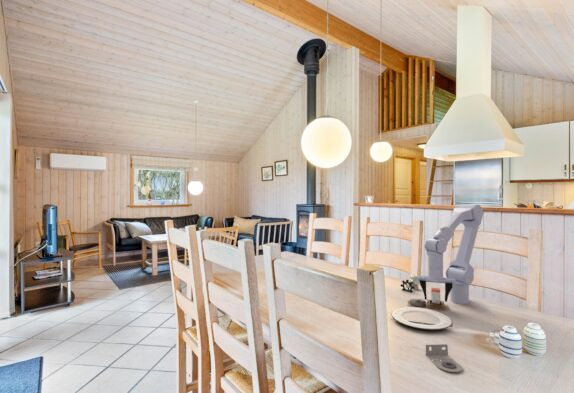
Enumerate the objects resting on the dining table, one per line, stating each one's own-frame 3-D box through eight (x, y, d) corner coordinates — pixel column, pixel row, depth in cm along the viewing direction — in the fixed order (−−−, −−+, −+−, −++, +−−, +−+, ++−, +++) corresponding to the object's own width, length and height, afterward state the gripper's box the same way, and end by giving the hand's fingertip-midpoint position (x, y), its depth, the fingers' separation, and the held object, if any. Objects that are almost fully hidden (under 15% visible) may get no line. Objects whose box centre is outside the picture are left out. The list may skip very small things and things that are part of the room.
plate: (456, 337, 104) (456, 332, 104) (391, 328, 112) (391, 323, 112) (447, 315, 124) (447, 310, 124) (392, 309, 131) (392, 304, 131)
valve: (409, 286, 162) (400, 292, 154) (409, 274, 162) (400, 278, 154) (422, 289, 158) (413, 294, 149) (422, 276, 158) (413, 281, 149)
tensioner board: (407, 302, 138) (407, 295, 138) (448, 307, 132) (448, 300, 132) (407, 308, 131) (407, 301, 131) (450, 313, 125) (450, 306, 125)
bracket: (443, 375, 83) (443, 362, 83) (425, 356, 93) (425, 344, 93) (467, 374, 83) (467, 361, 83) (447, 355, 93) (447, 344, 93)
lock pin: (431, 304, 132) (431, 287, 132) (439, 305, 131) (439, 288, 131) (431, 307, 129) (431, 289, 129) (440, 308, 128) (440, 290, 128)
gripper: (416, 268, 129) (416, 300, 129) (456, 271, 124) (456, 305, 124) (416, 264, 136) (416, 295, 136) (454, 267, 130) (454, 299, 130)
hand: (435, 299), depth 130 cm, fingers open, 7 cm apart
